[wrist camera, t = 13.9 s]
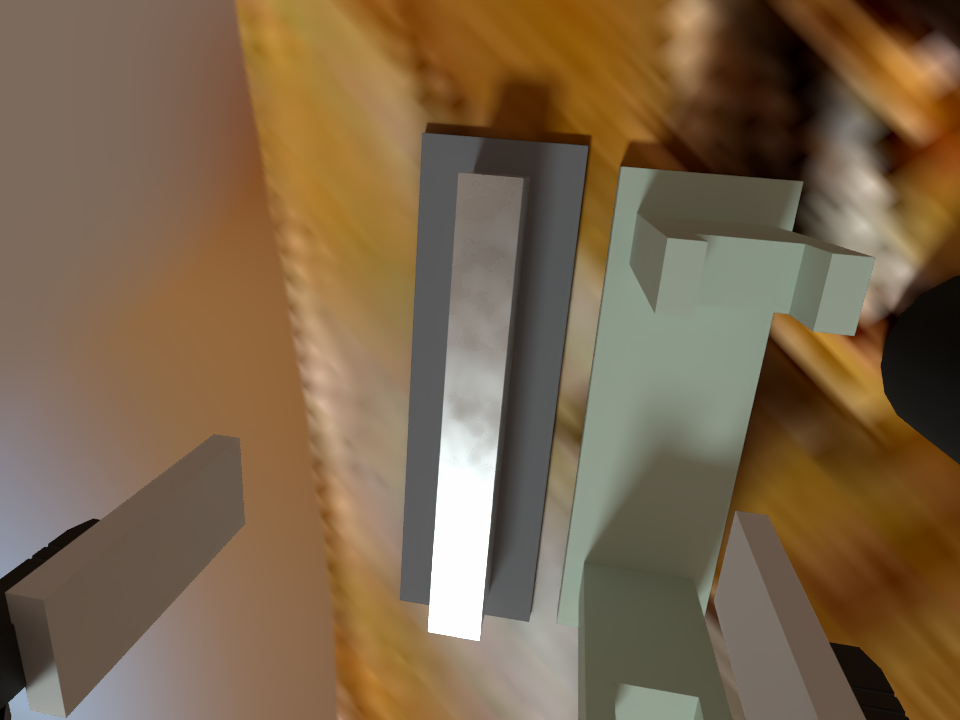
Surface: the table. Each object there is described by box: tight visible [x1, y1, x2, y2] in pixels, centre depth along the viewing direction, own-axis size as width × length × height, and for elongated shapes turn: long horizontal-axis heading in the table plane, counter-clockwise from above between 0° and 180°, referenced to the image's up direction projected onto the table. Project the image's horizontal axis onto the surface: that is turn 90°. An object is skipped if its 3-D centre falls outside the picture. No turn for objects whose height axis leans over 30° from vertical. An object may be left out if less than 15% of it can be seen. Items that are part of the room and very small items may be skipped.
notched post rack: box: [557, 167, 875, 720], centre depth 35 cm, size 32×10×15 cm, turn 175°
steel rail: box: [428, 172, 530, 640], centre depth 40 cm, size 30×4×5 cm, turn 176°
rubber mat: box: [400, 133, 588, 622], centre depth 43 cm, size 34×10×1 cm, turn 175°
